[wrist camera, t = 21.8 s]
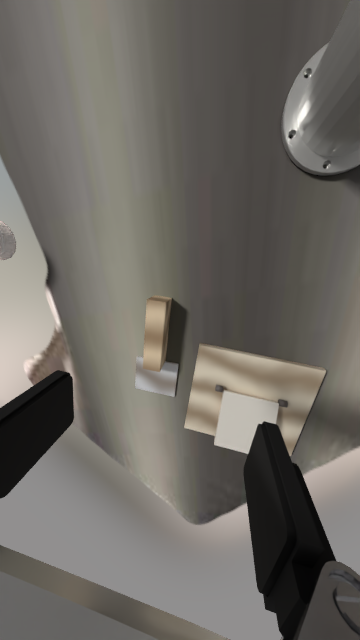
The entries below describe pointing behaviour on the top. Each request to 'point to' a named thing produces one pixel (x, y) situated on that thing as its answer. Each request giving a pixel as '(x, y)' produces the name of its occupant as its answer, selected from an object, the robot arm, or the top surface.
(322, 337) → the top surface
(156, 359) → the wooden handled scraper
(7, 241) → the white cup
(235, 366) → the board
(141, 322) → the top surface
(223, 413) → the tile
